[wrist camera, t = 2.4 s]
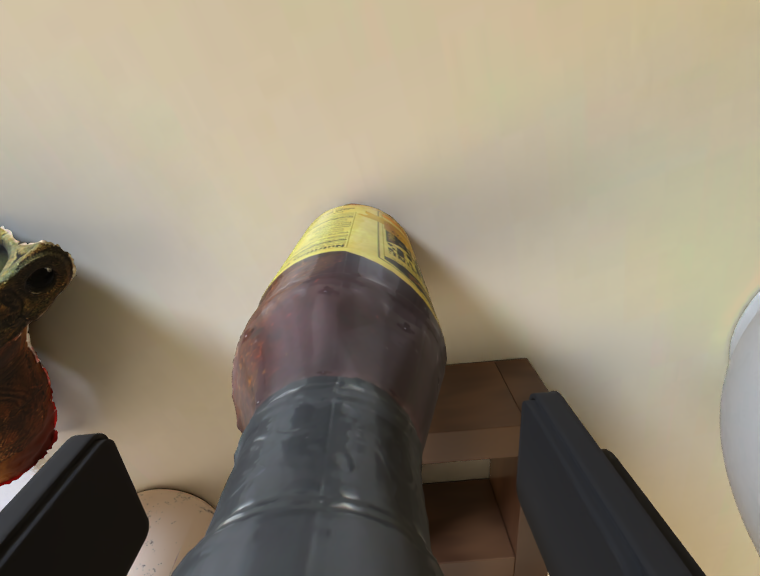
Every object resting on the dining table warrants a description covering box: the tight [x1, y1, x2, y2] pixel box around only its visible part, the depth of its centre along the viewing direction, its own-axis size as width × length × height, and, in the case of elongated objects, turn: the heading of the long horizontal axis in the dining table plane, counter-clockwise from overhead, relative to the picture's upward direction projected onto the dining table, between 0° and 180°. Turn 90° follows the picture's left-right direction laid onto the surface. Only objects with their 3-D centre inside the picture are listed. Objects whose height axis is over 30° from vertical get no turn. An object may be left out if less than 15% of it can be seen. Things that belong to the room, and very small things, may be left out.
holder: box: [422, 358, 549, 576], centre depth 26 cm, size 13×13×6 cm
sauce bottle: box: [171, 204, 447, 576], centre depth 14 cm, size 7×6×20 cm
